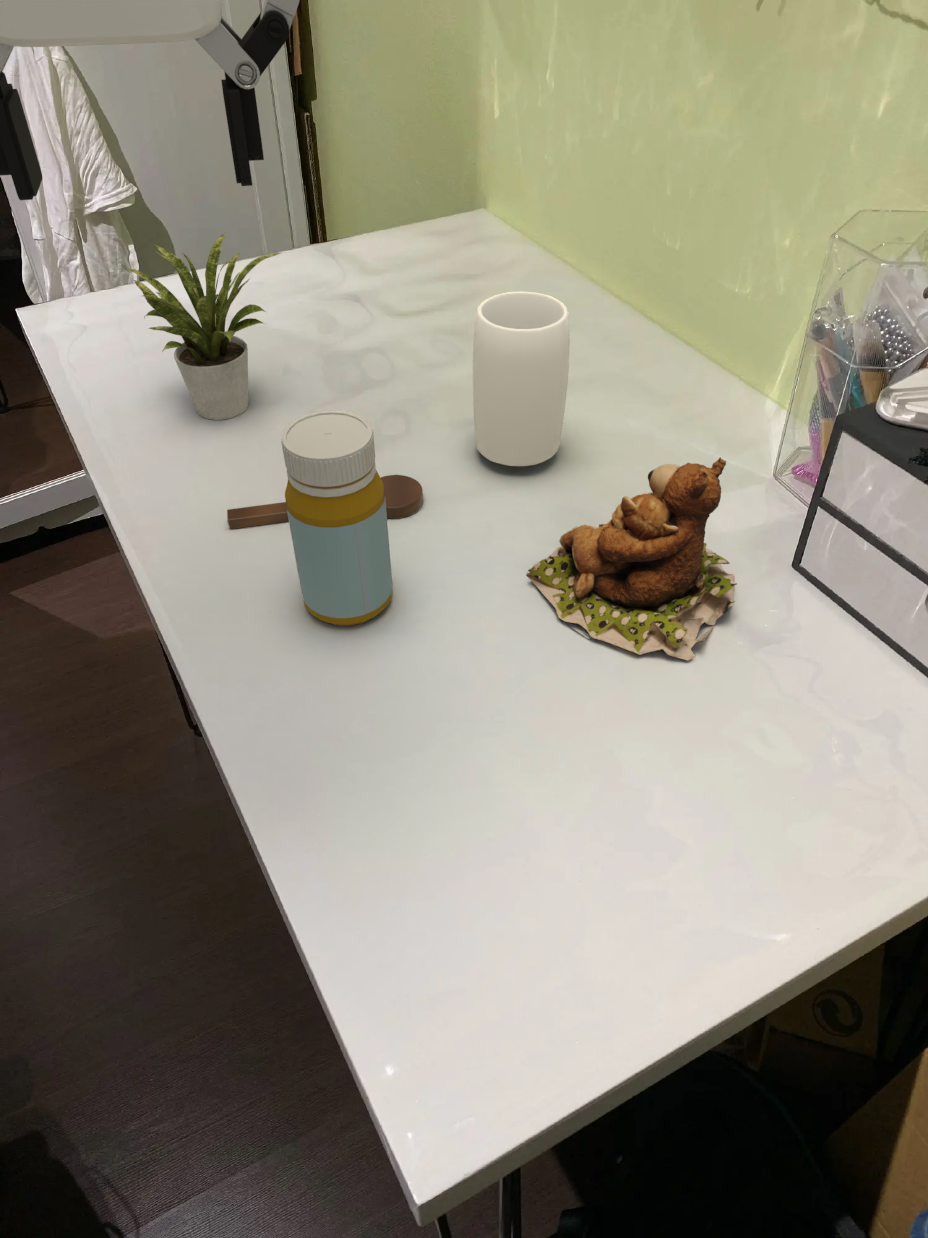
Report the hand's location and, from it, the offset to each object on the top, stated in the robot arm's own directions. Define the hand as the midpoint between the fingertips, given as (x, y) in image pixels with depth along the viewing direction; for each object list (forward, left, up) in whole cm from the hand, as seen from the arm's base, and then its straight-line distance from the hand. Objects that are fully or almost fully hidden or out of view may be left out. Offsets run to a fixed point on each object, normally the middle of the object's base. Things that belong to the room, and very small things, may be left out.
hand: (139, 183), depth 43 cm
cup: (+26, +23, -34) cm, 48 cm away
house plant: (0, +39, -34) cm, 52 cm away
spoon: (+8, +18, -34) cm, 39 cm away
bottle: (+7, +6, -34) cm, 35 cm away
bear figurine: (+30, +2, -34) cm, 45 cm away
